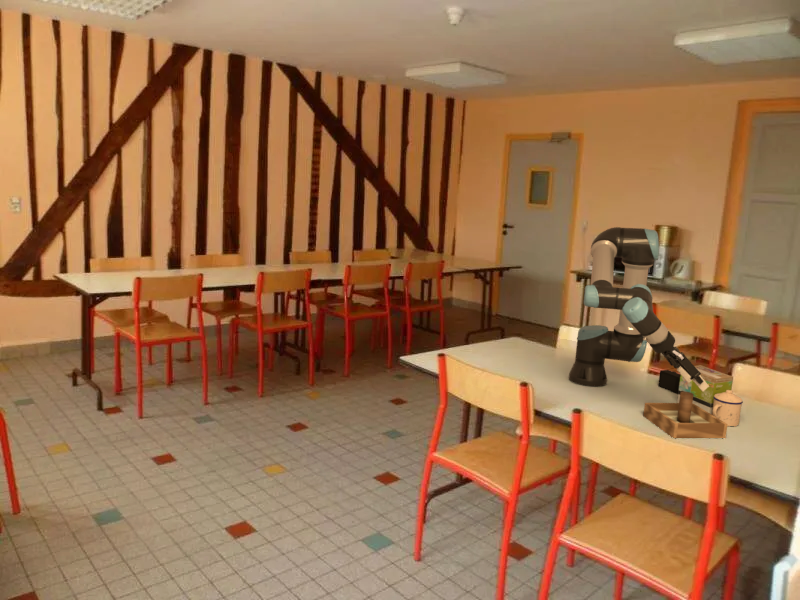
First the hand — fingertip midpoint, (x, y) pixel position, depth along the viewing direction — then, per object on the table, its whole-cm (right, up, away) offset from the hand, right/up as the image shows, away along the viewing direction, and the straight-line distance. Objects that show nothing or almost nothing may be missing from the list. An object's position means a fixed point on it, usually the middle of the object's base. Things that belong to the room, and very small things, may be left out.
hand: (698, 384), depth 209 cm
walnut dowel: (-4, -15, +3) cm, 16 cm away
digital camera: (+11, -9, +44) cm, 46 cm away
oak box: (-4, -15, +3) cm, 16 cm away
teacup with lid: (+12, -15, +8) cm, 21 cm away
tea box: (+12, -12, +22) cm, 28 cm away
